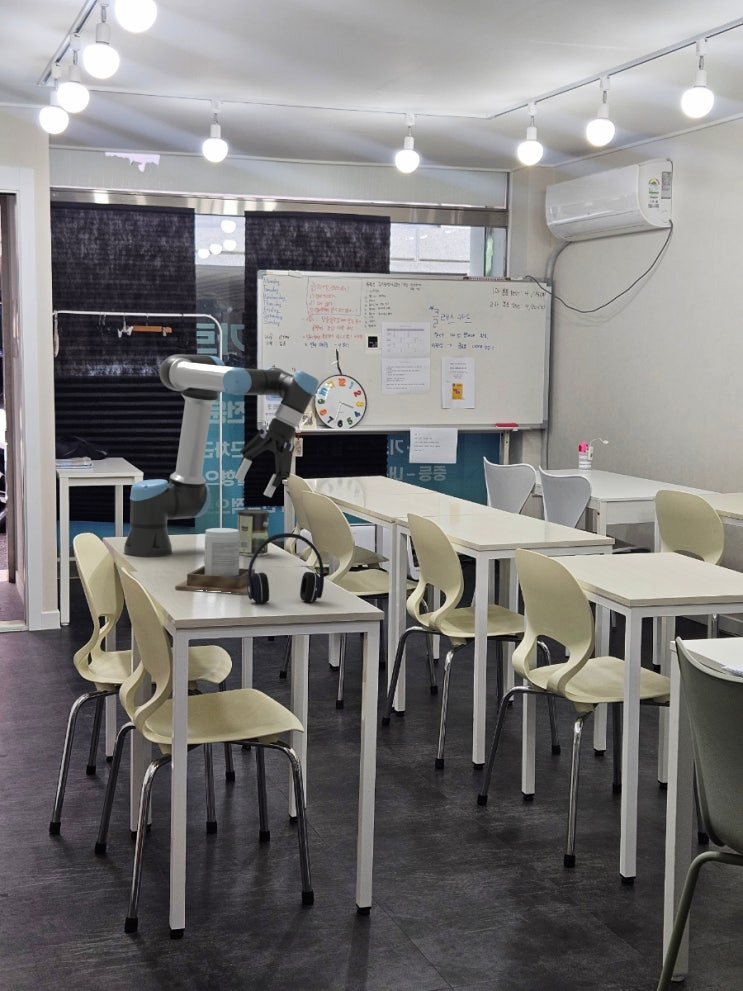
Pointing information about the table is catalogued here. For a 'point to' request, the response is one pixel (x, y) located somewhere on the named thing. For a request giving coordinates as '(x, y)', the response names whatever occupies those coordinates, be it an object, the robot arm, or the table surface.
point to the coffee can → (252, 531)
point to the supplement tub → (222, 552)
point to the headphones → (310, 580)
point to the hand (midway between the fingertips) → (252, 487)
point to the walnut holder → (215, 582)
